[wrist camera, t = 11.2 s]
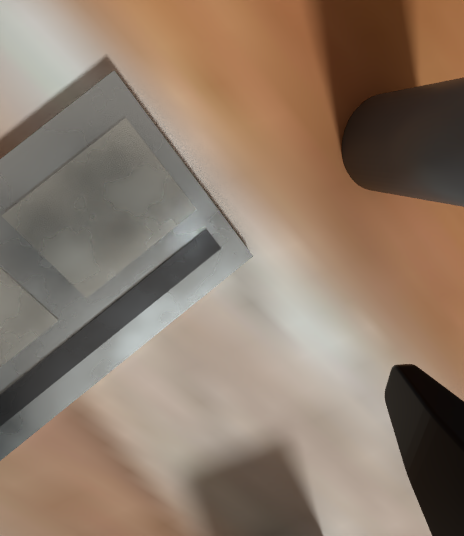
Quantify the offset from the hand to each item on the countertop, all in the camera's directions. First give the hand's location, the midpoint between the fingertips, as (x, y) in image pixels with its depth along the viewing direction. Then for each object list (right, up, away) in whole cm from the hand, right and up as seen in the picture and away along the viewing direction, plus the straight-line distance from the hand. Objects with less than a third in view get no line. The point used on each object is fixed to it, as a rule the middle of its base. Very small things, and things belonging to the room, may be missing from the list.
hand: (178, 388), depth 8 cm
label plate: (-7, +2, +10) cm, 12 cm away
